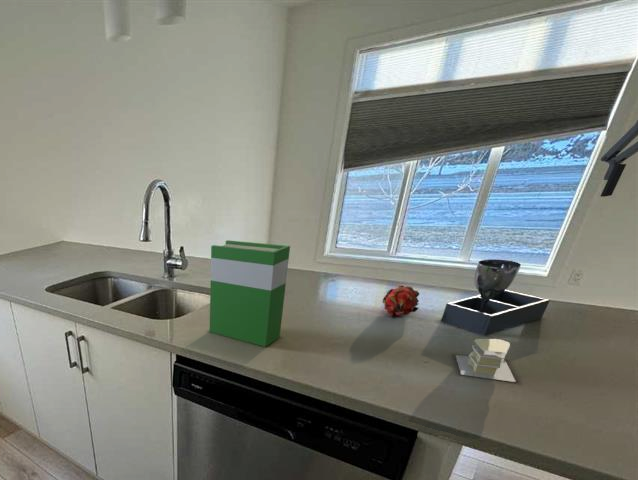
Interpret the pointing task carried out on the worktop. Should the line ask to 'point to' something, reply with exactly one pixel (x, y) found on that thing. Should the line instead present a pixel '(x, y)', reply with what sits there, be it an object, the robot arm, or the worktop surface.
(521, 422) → the worktop surface
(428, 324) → the worktop surface
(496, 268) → the wine glass
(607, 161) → the robot arm
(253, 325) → the hardback book
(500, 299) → the divided tray
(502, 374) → the stacked layers on plate
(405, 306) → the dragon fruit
